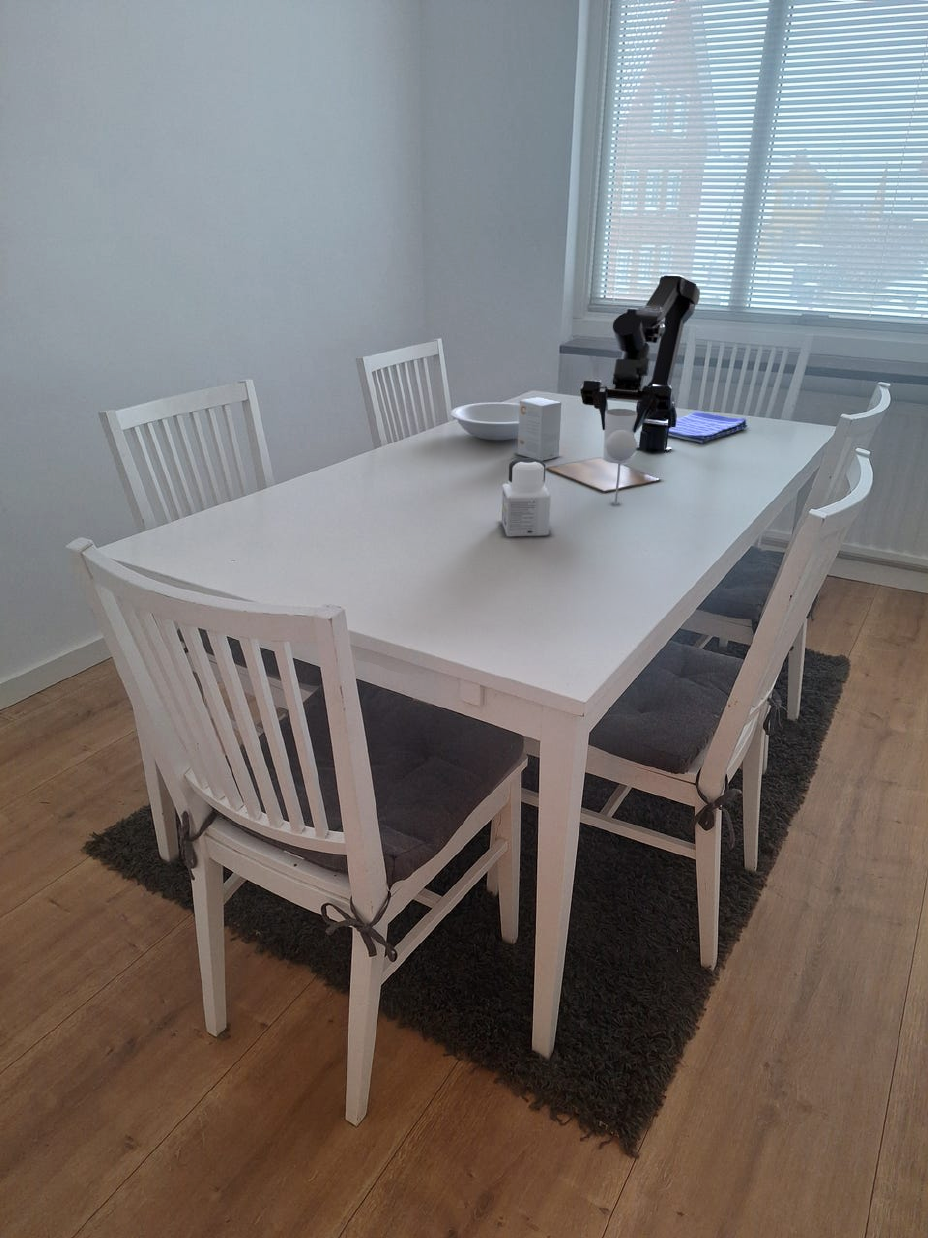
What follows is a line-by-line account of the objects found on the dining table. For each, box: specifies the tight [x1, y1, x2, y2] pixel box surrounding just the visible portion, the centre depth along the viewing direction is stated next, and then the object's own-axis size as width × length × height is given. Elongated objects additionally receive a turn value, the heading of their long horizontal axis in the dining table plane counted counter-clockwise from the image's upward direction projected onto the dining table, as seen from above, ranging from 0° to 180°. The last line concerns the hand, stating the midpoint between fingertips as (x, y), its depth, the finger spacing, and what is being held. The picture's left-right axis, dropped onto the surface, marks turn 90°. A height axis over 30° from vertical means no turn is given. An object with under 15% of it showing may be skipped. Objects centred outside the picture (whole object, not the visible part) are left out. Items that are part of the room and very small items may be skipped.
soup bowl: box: [450, 402, 520, 441], centre depth 209 cm, size 24×24×7 cm
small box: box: [517, 396, 562, 462], centre depth 193 cm, size 8×6×13 cm
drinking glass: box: [603, 408, 637, 465], centre depth 170 cm, size 7×7×10 cm
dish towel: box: [668, 411, 748, 444], centre depth 218 cm, size 17×24×3 cm
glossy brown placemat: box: [546, 457, 661, 494], centre depth 182 cm, size 16×20×1 cm
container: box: [501, 457, 552, 538], centre depth 148 cm, size 8×8×13 cm
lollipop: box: [605, 430, 638, 506], centre depth 160 cm, size 6×6×15 cm
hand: (618, 430), depth 168 cm, fingers closed on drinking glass, 6 cm apart
